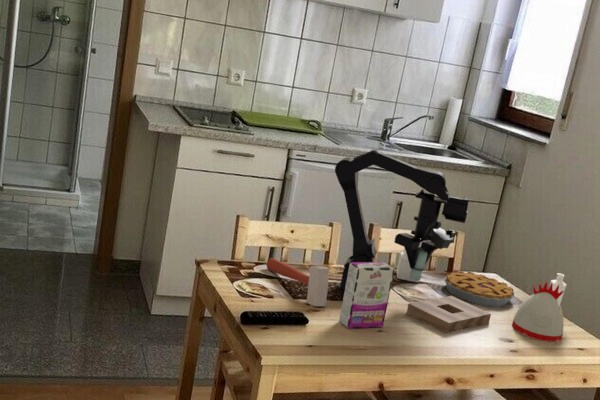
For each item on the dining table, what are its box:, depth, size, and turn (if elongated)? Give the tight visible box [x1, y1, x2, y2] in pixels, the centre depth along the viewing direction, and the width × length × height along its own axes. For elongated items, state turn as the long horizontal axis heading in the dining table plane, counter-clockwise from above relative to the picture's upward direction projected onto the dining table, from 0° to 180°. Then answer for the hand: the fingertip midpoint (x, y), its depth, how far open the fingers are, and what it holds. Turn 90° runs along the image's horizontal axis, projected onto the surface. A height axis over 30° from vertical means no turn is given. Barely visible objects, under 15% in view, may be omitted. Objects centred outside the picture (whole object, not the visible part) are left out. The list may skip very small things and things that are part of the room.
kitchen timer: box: [511, 280, 565, 342], centre depth 215 cm, size 14×14×15 cm
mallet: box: [266, 257, 330, 307], centre depth 216 cm, size 11×4×30 cm
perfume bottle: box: [549, 272, 567, 305], centre depth 226 cm, size 5×4×15 cm
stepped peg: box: [409, 250, 428, 281], centre depth 218 cm, size 4×4×8 cm
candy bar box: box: [338, 261, 395, 330], centre depth 196 cm, size 11×5×16 cm, turn 117°
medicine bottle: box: [396, 246, 420, 284], centre depth 244 cm, size 7×7×12 cm
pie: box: [444, 270, 516, 308], centre depth 240 cm, size 22×22×5 cm
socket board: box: [406, 295, 492, 334], centre depth 214 cm, size 20×14×3 cm
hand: (417, 267), depth 218 cm, fingers closed on stepped peg, 4 cm apart
